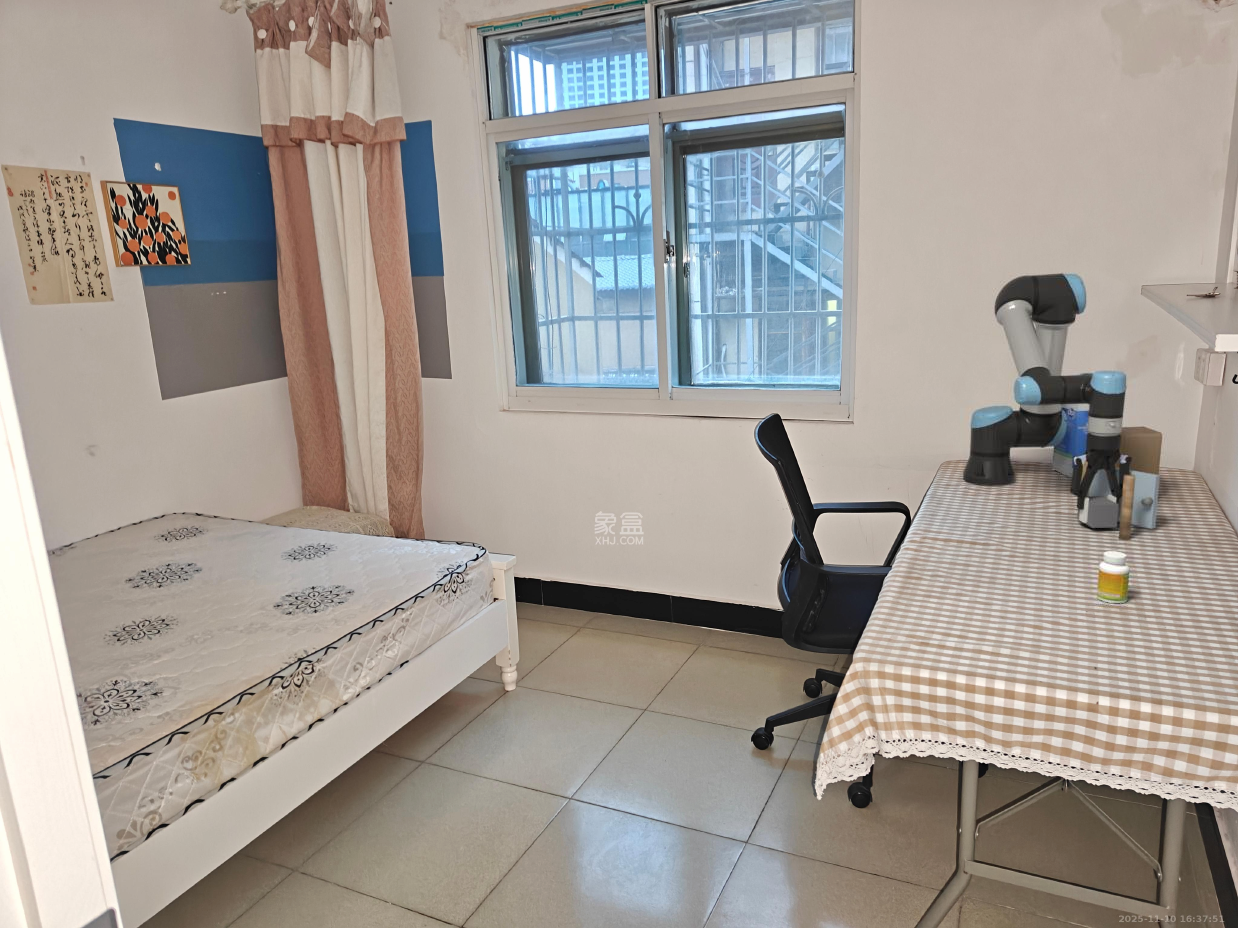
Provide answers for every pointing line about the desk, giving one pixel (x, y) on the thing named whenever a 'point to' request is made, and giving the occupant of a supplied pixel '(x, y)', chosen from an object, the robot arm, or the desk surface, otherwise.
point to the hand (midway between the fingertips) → (1096, 520)
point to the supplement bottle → (1113, 578)
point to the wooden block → (1141, 449)
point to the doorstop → (1101, 512)
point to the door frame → (1123, 504)
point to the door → (1143, 495)
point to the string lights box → (1072, 438)
